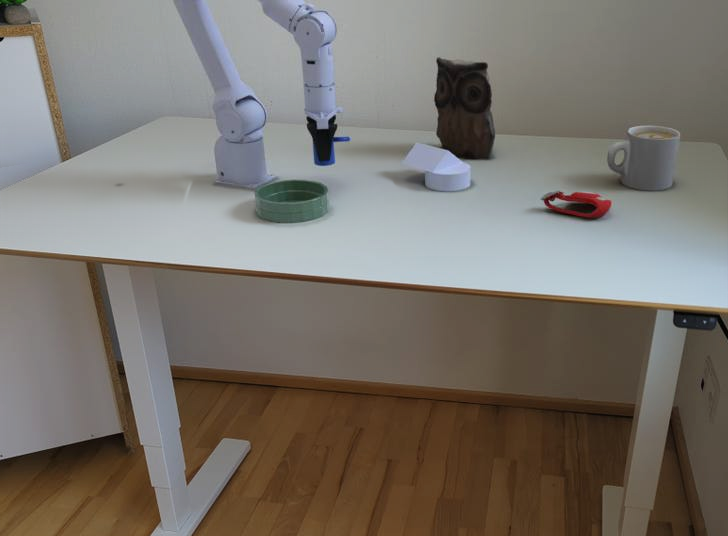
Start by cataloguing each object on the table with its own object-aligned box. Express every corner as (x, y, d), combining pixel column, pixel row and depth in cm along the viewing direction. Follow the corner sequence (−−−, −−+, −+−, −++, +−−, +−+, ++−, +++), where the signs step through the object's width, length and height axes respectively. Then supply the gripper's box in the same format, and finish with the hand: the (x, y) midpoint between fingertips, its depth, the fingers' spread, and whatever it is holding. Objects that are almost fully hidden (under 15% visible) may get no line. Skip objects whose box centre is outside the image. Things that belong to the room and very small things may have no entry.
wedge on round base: (401, 180, 161) (449, 194, 153) (401, 147, 158) (450, 160, 150) (431, 169, 167) (479, 183, 159) (431, 137, 163) (480, 149, 156)
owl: (495, 160, 172) (499, 63, 162) (437, 162, 171) (438, 64, 161) (487, 144, 183) (490, 52, 172) (432, 145, 182) (432, 53, 172)
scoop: (314, 166, 151) (312, 140, 149) (313, 160, 155) (312, 134, 152) (351, 164, 152) (350, 138, 149) (350, 158, 155) (349, 132, 153)
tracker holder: (590, 192, 150) (625, 195, 142) (587, 216, 151) (621, 220, 143) (537, 186, 145) (570, 189, 136) (534, 211, 146) (566, 215, 137)
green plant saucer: (242, 219, 143) (240, 198, 141) (280, 196, 153) (278, 176, 151) (307, 229, 138) (305, 207, 136) (341, 205, 149) (340, 184, 147)
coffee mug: (667, 175, 163) (675, 126, 157) (676, 191, 154) (684, 140, 149) (601, 173, 164) (607, 124, 159) (605, 189, 155) (612, 138, 150)
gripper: (343, 91, 140) (347, 167, 147) (338, 75, 152) (342, 145, 159) (302, 93, 139) (308, 169, 146) (301, 76, 151) (307, 147, 158)
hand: (324, 157), depth 152 cm, fingers closed on scoop, 4 cm apart
